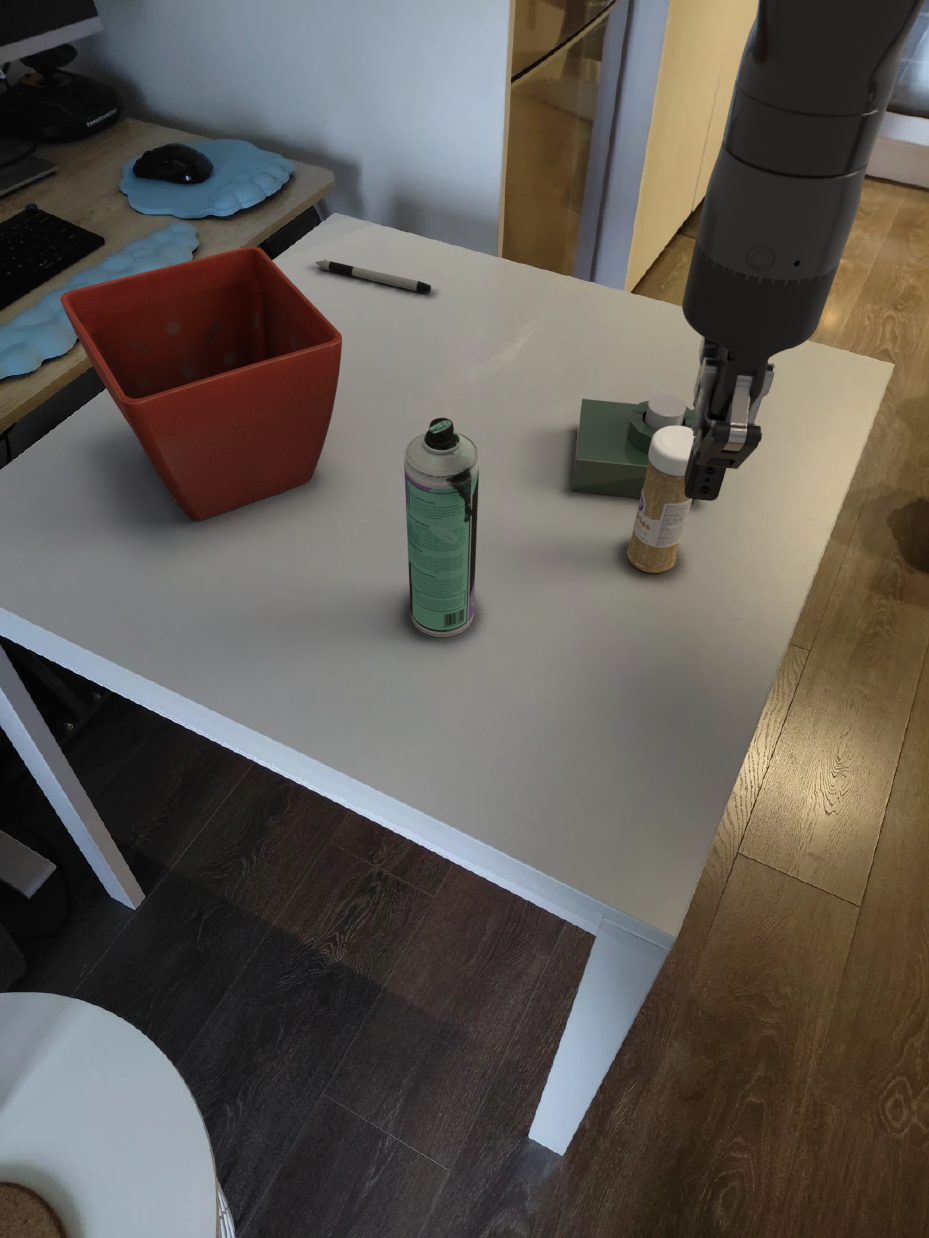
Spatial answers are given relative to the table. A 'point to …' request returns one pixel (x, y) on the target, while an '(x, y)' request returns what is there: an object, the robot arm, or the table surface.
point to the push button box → (614, 447)
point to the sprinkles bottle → (662, 501)
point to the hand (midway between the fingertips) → (699, 490)
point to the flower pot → (215, 374)
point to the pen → (375, 276)
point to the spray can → (441, 528)
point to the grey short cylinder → (664, 411)
